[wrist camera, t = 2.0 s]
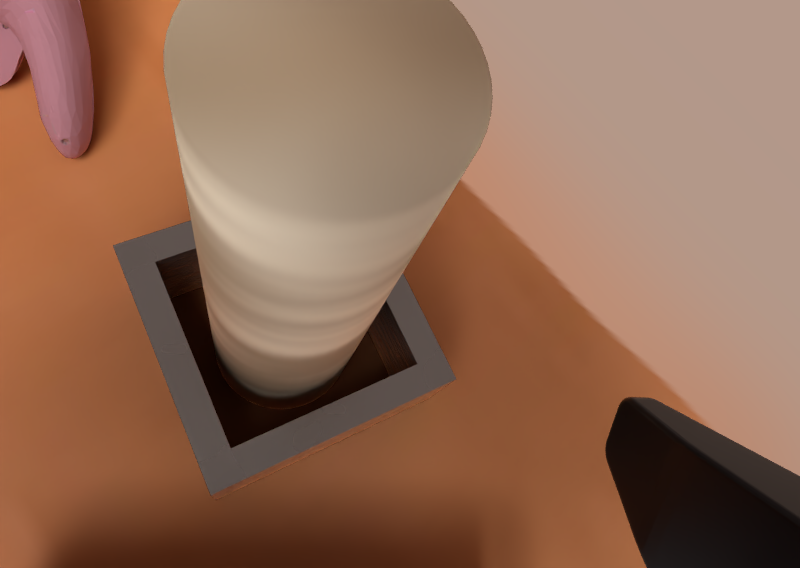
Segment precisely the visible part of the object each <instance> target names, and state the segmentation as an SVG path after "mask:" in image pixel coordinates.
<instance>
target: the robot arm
mask: <svg viewBox="0 0 800 568" xmlns="http://www.w3.org/2000/svg"><path fill="white" fill-rule="evenodd" d="M605 451H606V459H607V462H608V465H609V468H610V471H611V473H612V476H613V479H614V482H615V485H616V487H617V490H618V493H619V496H620V499H621V501H622V504H623V507H624V510H625V513H626V515H627V518H628V521H629V524H630V527H631V529H632V532H633V535H634V538H635V540H636V543H637V546H638V548H639V551H640V553H641V556H642V558H643V560H644V562H645V565H646V567H647V568H800V476H798V475H796V474H794V473H793V472H791V471H789V470H787V469H785V468H783V467H781V466H779V465H778V464H776V463H774V462H772V461H770V460H768V459H766V458H764V457H762V456H761V455H759V454H757V453H755V452H753V451H751V450H749V449H747V448H745V447H743V446H742V445H740V444H738V443H736V442H734V441H732V440H730V439H729V438H727V437H725V436H723V435H721V434H719V433H717V432H715V431H714V430H712V429H710V428H708V427H706V426H704V425H702V424H700V423H698V422H697V421H695V420H693V419H691V418H689V417H687V416H685V415H683V414H681V413H680V412H678V411H676V410H674V409H672V408H670V407H668V406H666V405H664V404H663V403H661V402H659V401H657V400H655V399H652V398H639V397H628V398H625V399H624V400H622V402H621V403H620V405H619V407H618V410H617V413H616V415H615V418H614V421H613V424H612V427H611V430H610V433H609V436H608V439H607V442H606V448H605Z"/></svg>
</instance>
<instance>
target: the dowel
mask: <svg viewBox="0 0 800 568" xmlns="http://www.w3.org/2000/svg"><path fill="white" fill-rule="evenodd" d="M164 75H165V80H166V86H167V91H168V97H169V102H170V108H171V113H172V119H173V124H174V129H175V135H176V140H177V146H178V151H179V157H180V162H181V168H182V173H183V179H184V184H185V190H186V195H187V201H188V206H189V212H190V217H191V223H192V228H193V234H194V239H195V245H196V250H197V256H198V261H199V267H200V272H201V278H202V283H203V289H204V294H205V300H206V305H207V310H208V316H209V321H210V327H211V332H212V338H213V343H214V349H215V354H216V360H217V363H218V366H219V369H220V371H221V373H222V375H223V377H224V379H225V380H226V382H227V383H228V385H229V386H230V387H231V388H232V389H233V390H234V391H235V392H236V393H238V394H239V395H240V396H241V397H243V398H244V399H246V400H248V401H249V402H252V403H254V404H256V405H259V406H262V407H266V408H272V409H290V408H296V407H300V406H303V405H306V404H308V403H311V402H312V401H314V400H316V399H318V398H319V397H321V396H322V395H323V394H325V393H326V392H327V391H328V390H329V389H330V388H331V387H332V386H333V384H334V383H335V382H336V381H337V379H338V377H339V376H340V374H341V373H342V371H343V369H344V368H345V366H346V364H347V363H348V361H349V360H350V358H351V356H352V355H353V353H354V351H355V350H356V348H357V347H358V345H359V343H360V342H361V340H362V338H363V337H364V335H365V333H366V332H367V330H368V329H369V327H370V325H371V324H372V322H373V320H374V319H375V317H376V316H377V314H378V312H379V311H380V309H381V307H382V306H383V304H384V303H385V301H386V299H387V298H388V296H389V294H390V293H391V291H392V290H393V288H394V286H395V285H396V283H397V281H398V280H399V278H400V276H401V275H402V273H403V272H404V270H405V268H406V267H407V265H408V263H409V262H410V260H411V259H412V257H413V255H414V254H415V252H416V250H417V249H418V247H419V246H420V244H421V242H422V241H423V239H424V237H425V236H426V234H427V233H428V231H429V229H430V228H431V226H432V224H433V223H434V221H435V219H436V218H437V216H438V215H439V213H440V211H441V210H442V208H443V206H444V205H445V203H446V202H447V200H448V198H449V197H450V195H451V193H452V192H453V190H454V189H455V187H456V185H457V184H458V182H459V180H460V179H461V177H462V176H463V174H464V172H465V171H466V169H467V167H468V166H469V164H470V162H471V161H472V159H473V158H474V156H475V154H476V153H477V151H478V149H479V148H480V146H481V144H482V141H483V139H484V137H485V134H486V132H487V129H488V125H489V120H490V116H491V109H492V83H491V77H490V72H489V67H488V63H487V60H486V57H485V55H484V52H483V49H482V47H481V45H480V43H479V41H478V39H477V37H476V35H475V33H474V31H473V30H472V28H471V27H470V25H469V24H468V22H467V21H466V19H465V18H464V16H463V15H462V14H461V13H460V11H459V10H458V9H457V8H456V7H455V6H454V4H453V3H452V2H451V1H450V0H181V1H180V3H179V4H178V6H177V8H176V10H175V12H174V14H173V16H172V18H171V21H170V24H169V27H168V30H167V33H166V39H165V45H164Z"/></svg>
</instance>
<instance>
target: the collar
mask: <svg viewBox="0 0 800 568" xmlns="http://www.w3.org/2000/svg"><path fill="white" fill-rule="evenodd" d="M113 247H114V249H115V252H116V255H117V257H118V260H119V262H120V265H121V267H122V270H123V272H124V275H125V278H126V280H127V283H128V285H129V288H130V290H131V293H132V295H133V298H134V301H135V303H136V306H137V308H138V311H139V313H140V316H141V318H142V321H143V324H144V326H145V329H146V331H147V334H148V336H149V339H150V341H151V344H152V347H153V349H154V352H155V354H156V357H157V359H158V362H159V364H160V367H161V370H162V372H163V375H164V377H165V380H166V382H167V385H168V387H169V390H170V393H171V395H172V398H173V400H174V403H175V405H176V408H177V410H178V413H179V416H180V418H181V421H182V423H183V426H184V428H185V431H186V433H187V436H188V439H189V441H190V444H191V446H192V449H193V451H194V454H195V456H196V459H197V462H198V464H199V467H200V469H201V472H202V474H203V477H204V480H205V482H206V485H207V487H208V490H209V492H210V495H211V496H212V497H213V498H214V499H216V500H218V499H220V498H222V497H224V496H226V495H228V494H230V493H232V492H234V491H236V490H239V489H241V488H243V487H245V486H247V485H249V484H251V483H253V482H255V481H257V480H260V479H262V478H264V477H266V476H268V475H270V474H272V473H274V472H276V471H278V470H280V469H283V468H285V467H287V466H289V465H291V464H293V463H295V462H297V461H299V460H301V459H304V458H306V457H308V456H310V455H312V454H314V453H316V452H318V451H320V450H322V449H324V448H327V447H329V446H331V445H333V444H335V443H337V442H339V441H341V440H343V439H345V438H348V437H350V436H352V435H354V434H356V433H358V432H360V431H362V430H364V429H366V428H369V427H371V426H373V425H375V424H377V423H379V422H381V421H383V420H385V419H387V418H389V417H392V416H394V415H396V414H398V413H400V412H402V411H404V410H406V409H408V408H410V407H413V406H415V405H417V404H419V403H421V402H423V401H425V400H427V399H429V398H430V397H432V396H433V395H434V394H436V393H437V392H439V391H440V390H442V389H443V388H444V387H446V386H447V385H449V384H450V383H452V382H453V381H454V380H456V377H455V375H454V373H453V371H452V369H451V367H450V365H449V363H448V361H447V359H446V357H445V356H444V354H443V352H442V350H441V348H440V346H439V344H438V342H437V340H436V338H435V336H434V334H433V332H432V330H431V328H430V326H429V324H428V322H427V320H426V318H425V316H424V314H423V312H422V310H421V308H420V306H419V304H418V302H417V300H416V298H415V296H414V294H413V292H412V290H411V288H410V286H409V284H408V282H407V280H406V278H405V276H404V274H403V273H402V275H401V276H400V278H399V280H398V281H397V283H396V285H395V286H394V288H393V290H392V291H391V293H390V294H389V296H388V298H387V299H386V301H385V303H384V304H383V306H382V307H381V309H380V311H379V312H378V314H377V316H376V317H375V319H374V320H373V322H372V324H371V325H370V327H369V329H368V332H369V335H370V337H371V339H372V341H373V343H374V345H375V347H376V349H377V351H378V353H379V356H380V358H381V360H382V362H383V364H384V366H385V368H386V370H387V372H388V374H389V376H390V377H388V378H385V379H383V380H381V381H379V382H377V383H374V384H372V385H370V386H368V387H366V388H363V389H361V390H359V391H357V392H355V393H352V394H350V395H348V396H346V397H344V398H341V399H339V400H337V401H335V402H332V403H330V404H328V405H326V406H324V407H321V408H319V409H317V410H315V411H313V412H310V413H308V414H306V415H304V416H302V417H299V418H297V419H295V420H293V421H291V422H288V423H286V424H284V425H282V426H279V427H277V428H275V429H273V430H271V431H268V432H266V433H264V434H262V435H260V436H257V437H255V438H253V439H251V440H249V441H246V442H244V443H242V444H240V445H238V446H235V447H233V448H230V446H229V443H228V441H227V438H226V436H225V433H224V431H223V428H222V426H221V423H220V421H219V418H218V416H217V413H216V411H215V409H214V406H213V404H212V401H211V399H210V396H209V394H208V391H207V389H206V386H205V384H204V381H203V379H202V376H201V374H200V372H199V369H198V367H197V364H196V362H195V359H194V357H193V354H192V352H191V349H190V347H189V344H188V342H187V339H186V337H185V335H184V332H183V330H182V327H181V325H180V322H179V320H178V317H177V315H176V312H175V310H174V307H173V305H172V303H171V300H170V298H173V297H176V296H178V295H181V294H184V293H187V292H189V291H192V290H195V289H198V288H201V287H203V283H202V278H201V272H200V267H199V261H198V256H197V250H196V245H195V239H194V234H193V228H192V223H191V221H188V222H184V223H181V224H178V225H175V226H172V227H169V228H166V229H163V230H160V231H156V232H153V233H150V234H147V235H144V236H141V237H138V238H135V239H132V240H128V241H125V242H122V243H119V244H116V245H113Z"/></svg>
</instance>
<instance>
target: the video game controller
mask: <svg viewBox="0 0 800 568" xmlns="http://www.w3.org/2000/svg"><path fill="white" fill-rule="evenodd" d="M24 56H26V59H27V62H28V65H29V67H30V70H31V75H32V79H33V84H34V88H35V93H36V98H37V102H38V107H39V111H40V116H41V120H42V122H43V124H44V126H45V128H46V131H47V133H48V135H49V137H50V139H51V141H52V142H53V144H54V145H55V147H56V148H57V149H58V151H59V152H60V153H61V154H63V155H64V156H65V157H67V158H72V159H74V158H78V157H80V156H81V155H82V154H83V153H84V152H85V151H86V150H87V147H88V146H89V144H90V142H91V137H92V132H93V117H94V91H93V79H92V69H91V55H90V48H89V43H88V37H87V32H86V27H85V23H84V18H83V13H82V9H81V4H80V0H0V86H1V85H3V84H5V83H7V82H8V81H9V80H10V79H11V78H12V76H13V75H14V74H15V73H16V72H17V71H18V69H19V67H20V65H21V63H22V61H23V59H24Z"/></svg>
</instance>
